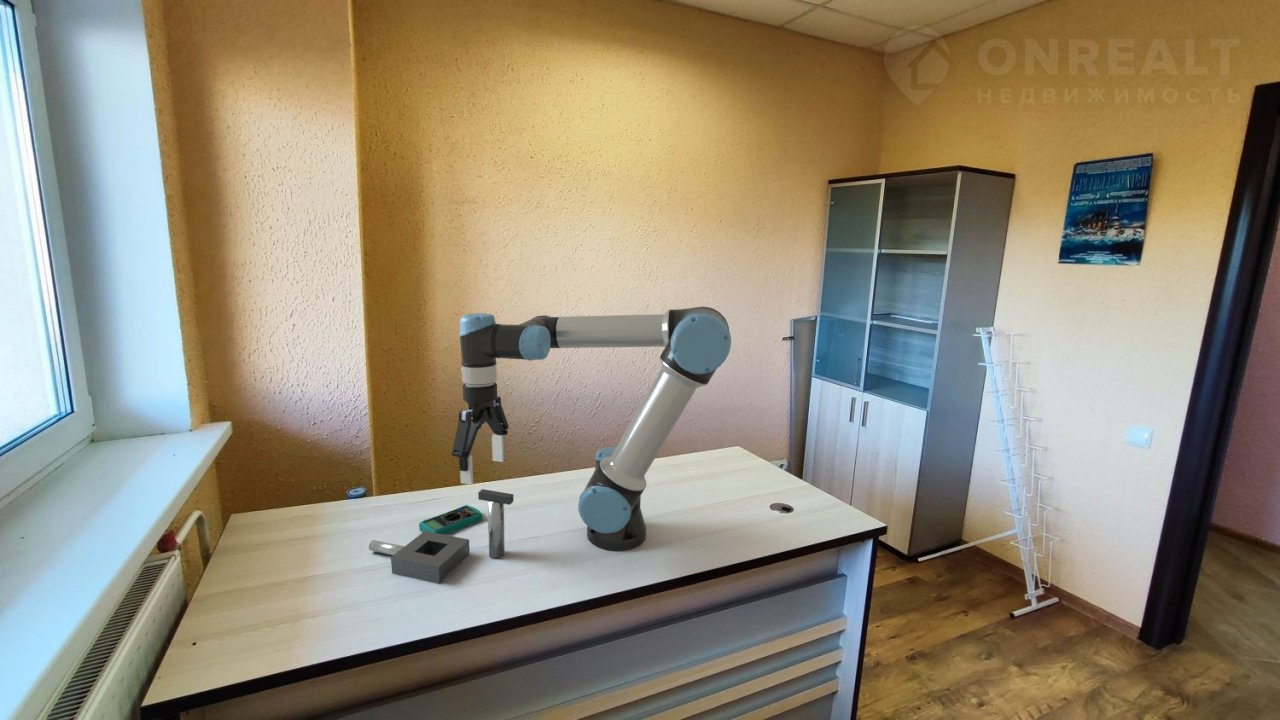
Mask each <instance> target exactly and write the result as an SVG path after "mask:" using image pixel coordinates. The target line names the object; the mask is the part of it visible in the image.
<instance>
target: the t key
mask: <svg viewBox="0 0 1280 720" xmlns="http://www.w3.org/2000/svg"><path fill="white" fill-rule="evenodd" d="M477 497H478V500H480V501H486V502H487V514H488V515H487V520H488V525H487V526H488V527H487V528H488V529H487V531H488V557H489V558H490V559H491V560H499V559H503V558H504V557H505V556H506V554H505V553H506V551H505V548H506V547H505V546H506V545H505V505H508V506H509V505H510V506H511V504H512V503H514V494H513V493H508V492H503V491H495V490H490V489H485V488H482V489H480V490H479V491H478V495H477Z"/></svg>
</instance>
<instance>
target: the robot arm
mask: <svg viewBox="0 0 1280 720" xmlns="http://www.w3.org/2000/svg"><path fill="white" fill-rule="evenodd" d="M495 318H496V317H495V316H494V314H491V313H486V312H485V313H481V312H480V313H479V312H478V313H467V314H464V315H462V316H461V317H460V319H459V334H458V335H459V341H460V342H459V343H460V355H461V362H460V363H461V379H462V380H461V382H462V383H463V384H462V400H463V401H464V402H465V403H466V404H467V410H459V412H458V422H457V427H456V432H455V437H454V440H453V441H454V442H453V446H452V452H451V456H452V457H454V458H455V457H456V458H458V465H459V468H458V469H459V476H460V484H465V485H473V484H474V472H473V471H474V469H473V467H474V466H473V455H471V451H472V449H473V446H474V443H475V440H476V437H477V434H478V432H479V430H480V429H481V428H482V426H483V425H484V424H485V423H486V424H487V425H488V426H489V428H490V429H491V431H492V432H493V434H492V435H491V449H492V452H491V453H492V461H493V462H499V463H500V462H501V463H504V462H505V450H504V449H505V447H504V444H505V443H504V441H505V440H504V435H505V436H507V435H508V433H509V431H508V430H509V428H510V427H509V424H508V420H507V418H506V414H505V411H504V409H503V406H502V398H501V397H500V396H498V383H496V382H497V381H498V374H497V359H509V360H525V361H526V360H527V361H531V362H532V361H537V360H538V361H542V360H545V359H547V357H548V356H549V353H550V350H551V349H571V348H572V349H576V348H577V349H579V348H580V349H581V348H582V349H583V348H586V349H587V348H592V349H593V348H595V349H596V348H651V347H652V348H654V347H655V348H656V347H657V348H659V347H660V348H661V347H662V348H663V347H664V349H663V351H662V353H660V356H659V360H660V364H661V369H659V370H660V371H659V372H658V374H657V375H656V378H655V379H654V381H653V382H652V384H651V386H650V388H649V389H648V391H647V393H646V394H645V396H644V398H643V400H642V401H641V404H640V405H639V406H638V408H637V410H636V412H635V414H634V416H633V418H632V419H631V421H630V423H629V425H628V426H627V428H626V430H625V432H624V433H623V435H622V436H621V439H620V440H619V442H618V443H617V446H607V447H602V448H599V449H598V450H597V451H596V453H595V456H594V457H595V458H594V462H595V464H594V465H595V467H594V471H593V473H592V475H591V477H590V478H589V480H588V482H587V484H586V486H585V488H584V490H583V491H582V492H581V493H580V495H579V501H578V507H577V509H578V513H579V516H580V518H581V520H582V522H583V523H584V524H585V525H586V538H587V540H588V541H589V543H591V544H592V545H593V546H595V547H597V548H599V549H603V550H608V551H626V550H631V549H635V548H637V547H639V546H641V545H642V544H643V543H644V542H645V541H646V538H647V526H646V523H645V519H644V516H643V512H642V508H641V501H642V500H641V497H642V494H643V493H644V491H645V490H646V488H647V480H646V473H647V472H648V471H649V469H650V467H651V465H652V464H653V463H654V461H655V459H656V458H657V455H658V454H659V453H660V450H661V449H662V447H663V446H664V444H665V442H666V440H667V439H668V437H669V435H670V433H671V432H672V431H673V429H674V427H675V425H676V423H677V422H678V420H679V418H680V417H681V415H682V414H683V412H684V411H685V409H686V407H687V405H688V403H689V402H690V400H691V398H692V397H693V395H694V393H695V392H696V390H697V389H698V388H700V387H704V386H708V384H709V383H710V381H711V379H712V377H713V376H714V374H715V373H716V371H717V369H719V368H720V367H721V366H722V364H724V363H725V361H726V360H727V358H728V356H729V354H730V351H731V346H732V337H731V333H730V327H729V324H728V320H727V319H726V317H724V315H723V314H722V313H721V312H720V311H718V310H717V309H715V308H712V307H709V306H696V307H690V308H681V309H680V308H679V309H678V308H677V309H668V310H666V312H664V313H663V314H662V313H661V314H659V313H657V314H623V315H622V314H621V315H617V314H616V315H615V314H614V315H587V316H586V315H581V316H578V315H577V316H575V315H574V316H550V315H547V314H546V315H545V314H544V315H536V316H534V317H532V318H531V319H528V320H526V321H524V322H522V323H520V324H503V323H501V324H500V323H497V322H496V319H495Z"/></svg>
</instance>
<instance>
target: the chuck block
mask: <svg viewBox="0 0 1280 720" xmlns="http://www.w3.org/2000/svg"><path fill="white" fill-rule="evenodd" d="M368 550H369V551H372V552H376V553H379V554H385V555H390V561H391V564H390V565H391V574H393V575H398V576H403V577H408V578H411V579H416V580H420V581H425V582H430V583H435V584H441V583H442V582H443V581H444V580H445V579H446V578H447V577H448V576H449V575H451V573H452V572H453V571H455V569H457V568H458V567H459V565H461V564H462V563H463V562H464V561H465V560H466V559H467V558H468V557H469V556H470V554H471V552H470V539H468V538H464V537H458V536H453V535H449V534H447V535H443V534H438V533H433V532H428V531H424V532H423V533H422V532H421V533H420V534H419V535H418V536H416V537H415V538H413V540H411V541H410V542H409V543H407V544H406V545H399V544H395V543H392V542H391V543H390V542H385V541H381V540H375V539H372V540H371V541H370V542H369V545H368Z"/></svg>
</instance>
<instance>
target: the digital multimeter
mask: <svg viewBox="0 0 1280 720" xmlns="http://www.w3.org/2000/svg"><path fill="white" fill-rule="evenodd" d="M482 521H483V513H482V512H481V511H480V510H479V509H477V508H476V507H474V506H472V505H468V504H466V505H463V506H461V507H457V508H455V509H452V510H450V511H447V512H445V513H441V514H439V515H436V516H433V517H431V518H428V519H427V518H426V519H424V520H422V521H420V522H419V524H418V527H419V529H418V530H419V531H420V532H421V534H422V533H423V532H424V531H428V532H433V533H438V534H443V535H449V534H451V533H454V532H456V531H459V530H461V529H464V528H467V527H469V526H472V525H474V524H478V523H479V522H482Z"/></svg>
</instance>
